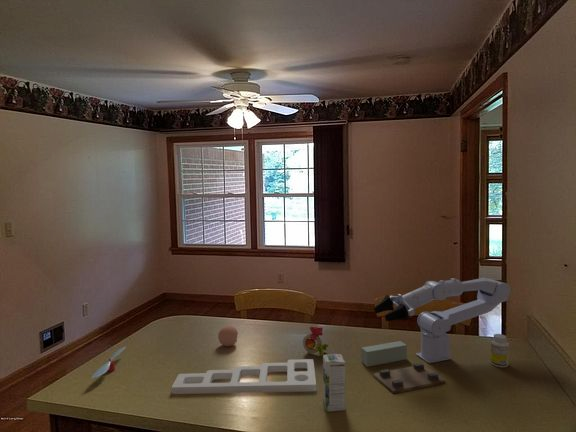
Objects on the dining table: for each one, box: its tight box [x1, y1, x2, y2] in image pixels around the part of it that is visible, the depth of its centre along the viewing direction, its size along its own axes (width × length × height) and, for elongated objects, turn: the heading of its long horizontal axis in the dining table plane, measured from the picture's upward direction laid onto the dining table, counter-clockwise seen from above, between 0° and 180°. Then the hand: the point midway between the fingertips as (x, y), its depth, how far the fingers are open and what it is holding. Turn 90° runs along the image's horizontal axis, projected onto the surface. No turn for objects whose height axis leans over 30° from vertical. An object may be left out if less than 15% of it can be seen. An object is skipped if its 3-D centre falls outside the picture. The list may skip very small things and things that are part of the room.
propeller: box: [90, 346, 127, 379], centre depth 148 cm, size 4×25×4 cm, turn 177°
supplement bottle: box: [490, 333, 510, 368], centre depth 144 cm, size 6×6×10 cm
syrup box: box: [322, 353, 346, 413], centre depth 121 cm, size 6×6×14 cm
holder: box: [171, 358, 317, 395], centre depth 139 cm, size 45×18×3 cm, turn 89°
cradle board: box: [372, 362, 446, 395], centre depth 136 cm, size 19×12×2 cm, turn 108°
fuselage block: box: [360, 340, 408, 368], centre depth 150 cm, size 16×4×6 cm, turn 108°
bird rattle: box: [302, 326, 329, 357], centre depth 157 cm, size 6×11×9 cm
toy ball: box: [217, 325, 239, 347], centre depth 167 cm, size 8×8×8 cm
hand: (380, 314), depth 145 cm, fingers open, 7 cm apart
